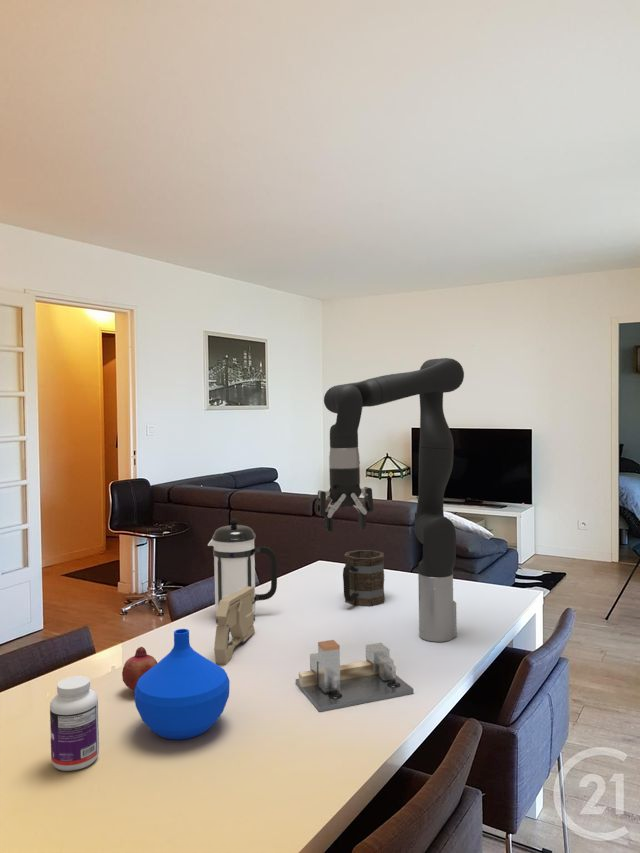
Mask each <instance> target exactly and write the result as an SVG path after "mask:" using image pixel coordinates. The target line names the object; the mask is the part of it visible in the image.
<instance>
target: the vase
mask: <svg viewBox="0 0 640 853" xmlns="http://www.w3.org/2000/svg"><path fill="white" fill-rule="evenodd" d="M133 691H134V690H133ZM229 696H230V679H229V676H228V673H227V672H226V670H225V669H224V668H223V667H221V666H220V665H219V664H216V662H214V661H212V660H209V659H208V658H206V657H205V656H203V655H202V654H200V653H199V652H197V651H196V650H195V649H194V648H192V646H191V644H190V630H189V629H188V628H179V629H176V630H174V631H173V646H172V649H171V650H170V651H169V653H167V654H166V655H165V656H164V657H162V659H161V660H159V661H157V664H156V665H155V666H153V667H152V668H151V669H150V670H148V671H147V672H146V673H144V674H143V675H142V676H141V677H140V678H139V680H138V682H137V685H136V688H135V691H134V703H135V709H136V710H137V712H138V714H139V717H140V718H141V720H142V722H143V723H144V724H145V725H146V726H147V727H148V728H149V729H150V731H152V732H153V733H155V734H157V735H159V736H160V737H162V738H165V739H169V740H176V741H177V740H187V739H192V738H195V737H198V736H201V735H202V734H204V733H205V732H206V731H208V730H209V729H210V728H211V727H212V726H214V725H215V724H216V722H217V720H218V719H220V717H221V715H222V714H223V712H224V710H225V707H226V704H227V702H228V700H229Z"/></svg>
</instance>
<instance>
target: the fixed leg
mask: <svg viewBox="0 0 640 853" xmlns="http://www.w3.org/2000/svg"><path fill="white" fill-rule="evenodd" d="M365 661H370V662H371V663H372V664H373V671H379V677H381V678H382V679H383V680H390V679H392V684H396V675H397V674H396V672H397V666H396V665H394V659H392V658H391V657H390V648H389V647H387V646H386V645H384V644H383V643H382V642H378V643H371V644H366V645H365Z"/></svg>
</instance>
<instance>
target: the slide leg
mask: <svg viewBox="0 0 640 853" xmlns="http://www.w3.org/2000/svg"><path fill="white" fill-rule="evenodd" d="M340 646H341V645H340V644H339V643H338V642H337V641H335V640H334V639H330V640H322V641H318V642H317V652H316V653H310V654H309V671H311V670H313V671H314V672H315V673H316V681H317V682H318V681H319V687H320V688H321V689H322V690H323V691H324V692H325V693H326V692H332V691H333V694H334V695H337V694H338V690H340V665H341V654H340V653H341V651H340V649H341V648H340Z"/></svg>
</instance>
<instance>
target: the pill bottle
mask: <svg viewBox="0 0 640 853" xmlns="http://www.w3.org/2000/svg"><path fill="white" fill-rule="evenodd" d="M56 684H57V685H56V691H57V692H56V693H57V694H55V695H54V696H53V698H52V699H51V701H50V705H49V716H50V718H49V722H50V724H49V725H50V729H49V730H50V757H51V759H50V760H51V764H52V766H53V767H54V768H55V769H57V770H59V771H63V772H65V771H66V772H67V771H68V772H70V771H77V770H81V769H85V768H86V767H88V766H90V765H91V764H93V763H94V762H95V761H96V760H97V758H98V757H99V754H100V741H99V740H100V737H99V732H100V731H99V701H98V700H99V698H98V693H97V692H96V691H94V690H93V689H91V679H90V678H89V677H87V676H84V675H73V676H68V677H65V678H63V679H61V680H60V681H58V683H56Z"/></svg>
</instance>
